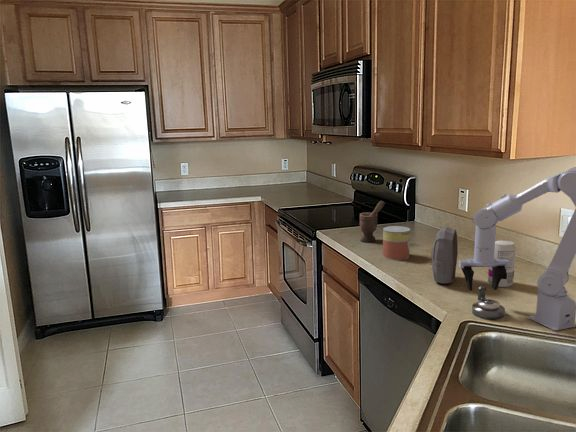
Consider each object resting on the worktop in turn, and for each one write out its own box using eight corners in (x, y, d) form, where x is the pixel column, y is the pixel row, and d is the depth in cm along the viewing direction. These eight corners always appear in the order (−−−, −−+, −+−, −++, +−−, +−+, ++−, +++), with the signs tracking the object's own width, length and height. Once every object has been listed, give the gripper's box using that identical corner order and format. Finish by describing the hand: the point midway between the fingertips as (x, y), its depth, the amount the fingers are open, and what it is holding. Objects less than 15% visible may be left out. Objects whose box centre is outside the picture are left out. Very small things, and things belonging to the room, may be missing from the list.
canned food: (410, 260, 196) (411, 232, 194) (382, 259, 198) (382, 231, 196) (409, 252, 207) (409, 226, 205) (382, 252, 209) (383, 225, 207)
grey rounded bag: (451, 288, 163) (453, 232, 159) (426, 285, 167) (428, 230, 163) (457, 275, 176) (459, 223, 172) (434, 272, 180) (436, 221, 176)
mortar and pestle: (382, 238, 232) (383, 198, 228) (384, 243, 224) (385, 201, 220) (358, 238, 233) (359, 198, 229) (360, 243, 225) (360, 201, 221)
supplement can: (483, 284, 167) (486, 243, 164) (493, 278, 172) (496, 238, 169) (507, 289, 161) (510, 247, 158) (516, 283, 167) (519, 242, 163)
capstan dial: (502, 310, 139) (503, 297, 138) (482, 310, 139) (483, 297, 138) (489, 298, 148) (490, 285, 147) (470, 298, 148) (471, 286, 147)
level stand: (511, 316, 139) (511, 310, 139) (486, 321, 136) (486, 315, 136) (489, 306, 148) (489, 299, 147) (465, 310, 145) (465, 303, 144)
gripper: (503, 242, 147) (500, 284, 150) (456, 243, 148) (454, 285, 150) (513, 249, 140) (509, 292, 143) (463, 250, 141) (461, 293, 144)
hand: (481, 289), depth 146 cm, fingers open, 7 cm apart
